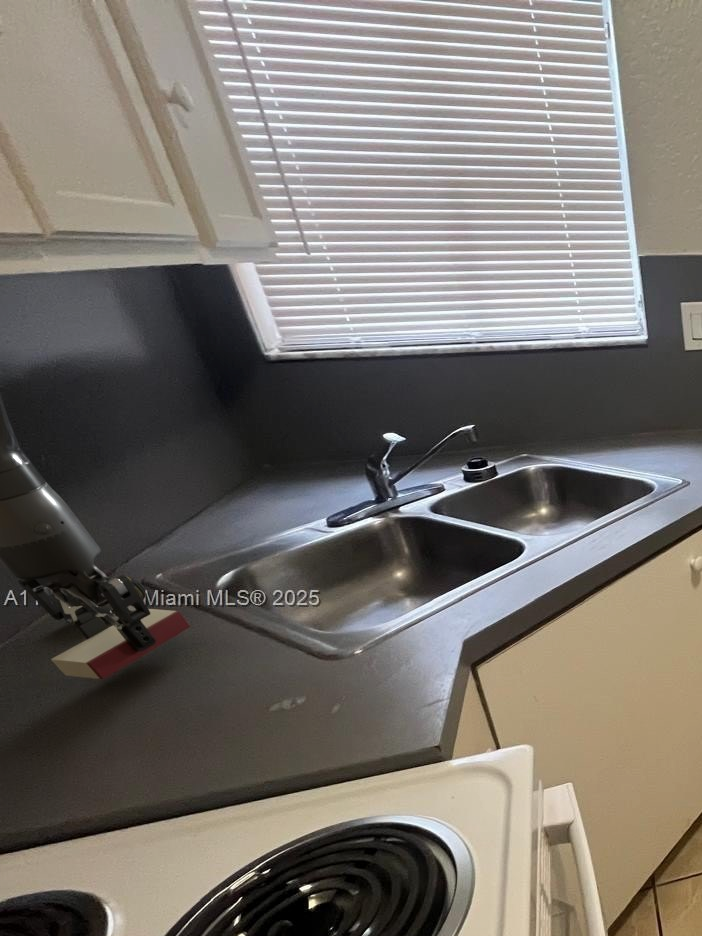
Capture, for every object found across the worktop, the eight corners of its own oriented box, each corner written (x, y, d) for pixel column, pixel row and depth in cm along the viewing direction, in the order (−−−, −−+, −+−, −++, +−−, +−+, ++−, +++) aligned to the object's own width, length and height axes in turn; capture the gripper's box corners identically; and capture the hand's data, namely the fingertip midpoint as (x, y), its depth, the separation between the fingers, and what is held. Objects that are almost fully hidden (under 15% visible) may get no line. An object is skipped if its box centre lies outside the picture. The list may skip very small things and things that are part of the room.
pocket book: (155, 623, 86) (143, 608, 85) (190, 626, 85) (179, 611, 84) (65, 675, 77) (50, 659, 76) (103, 679, 76) (88, 663, 75)
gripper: (116, 517, 73) (199, 632, 83) (23, 512, 76) (113, 624, 85) (41, 548, 67) (140, 668, 77) (-57, 542, 70) (49, 659, 79)
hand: (125, 645), depth 81 cm, fingers closed on pocket book, 6 cm apart
